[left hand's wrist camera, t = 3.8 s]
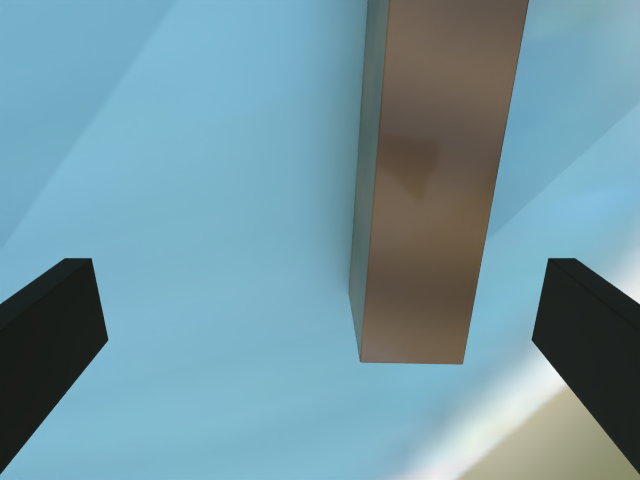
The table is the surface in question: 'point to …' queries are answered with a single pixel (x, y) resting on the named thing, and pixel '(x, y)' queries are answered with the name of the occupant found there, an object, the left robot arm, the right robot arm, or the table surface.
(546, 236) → the table surface
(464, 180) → the bar
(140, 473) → the table surface
